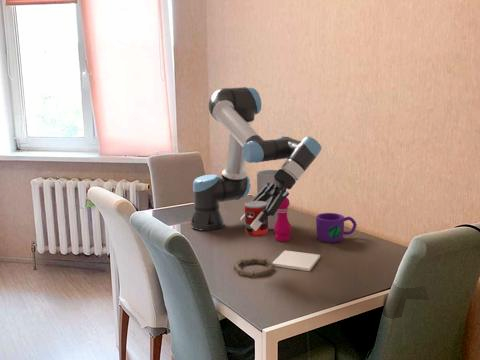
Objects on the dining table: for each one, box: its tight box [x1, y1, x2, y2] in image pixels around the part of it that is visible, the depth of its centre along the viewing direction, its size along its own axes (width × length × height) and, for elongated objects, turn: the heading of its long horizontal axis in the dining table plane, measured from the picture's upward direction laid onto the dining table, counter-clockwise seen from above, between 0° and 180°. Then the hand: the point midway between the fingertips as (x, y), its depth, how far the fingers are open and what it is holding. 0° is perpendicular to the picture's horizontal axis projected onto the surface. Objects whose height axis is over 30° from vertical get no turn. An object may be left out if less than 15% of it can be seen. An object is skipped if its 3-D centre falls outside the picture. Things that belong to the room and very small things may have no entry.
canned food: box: [244, 200, 269, 238], centre depth 164 cm, size 8×8×11 cm
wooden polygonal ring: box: [233, 257, 275, 278], centre depth 167 cm, size 13×13×2 cm
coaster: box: [272, 250, 321, 272], centre depth 172 cm, size 14×14×1 cm
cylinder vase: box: [256, 169, 279, 230], centre depth 214 cm, size 12×12×25 cm
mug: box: [315, 212, 358, 244], centre depth 195 cm, size 17×11×10 cm, turn 101°
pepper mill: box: [273, 196, 292, 242], centre depth 195 cm, size 7×7×20 cm
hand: (247, 225), depth 163 cm, fingers closed on canned food, 8 cm apart
